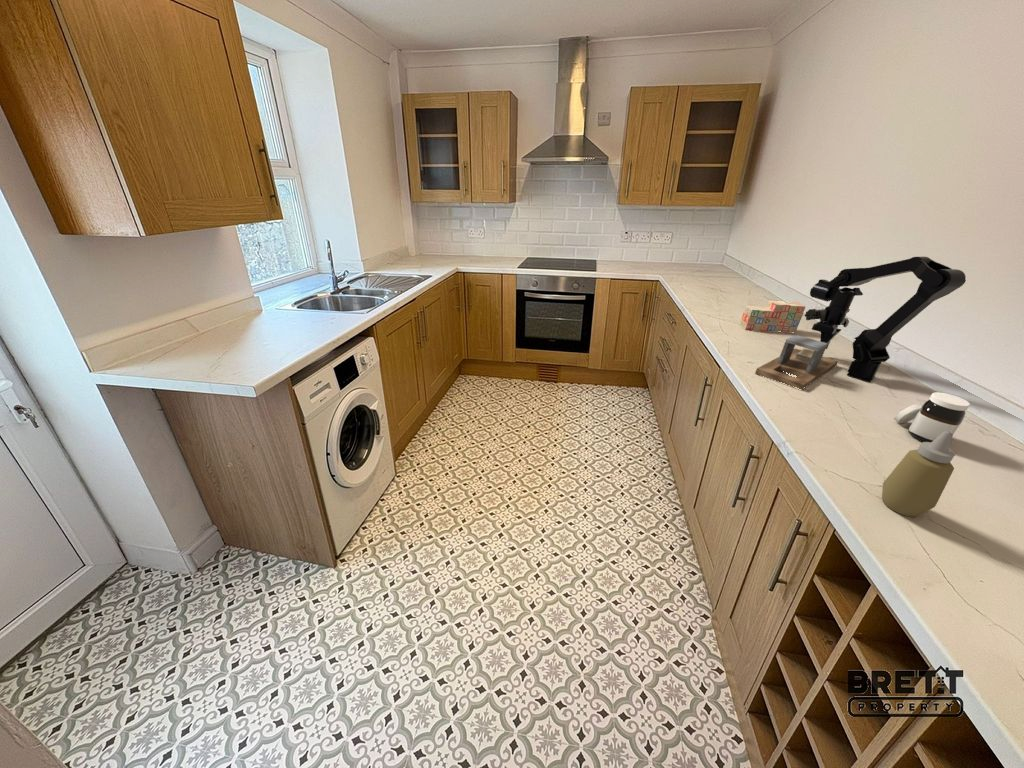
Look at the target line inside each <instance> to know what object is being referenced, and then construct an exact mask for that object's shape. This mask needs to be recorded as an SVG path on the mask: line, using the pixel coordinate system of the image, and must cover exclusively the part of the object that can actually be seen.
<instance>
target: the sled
mask: <svg viewBox="0 0 1024 768" xmlns="http://www.w3.org/2000/svg"><path fill="white" fill-rule="evenodd" d="M831 341H832V339H831V340H830V341H829V342H828V344H827V347H826V349H825V350H827V349H828V348H829V346H830V343H831ZM801 353H802V351H801V352H799V353H797V355H796V357H795V358H797V359H801V360H804V361H807V362H810V359H811V357H808V356H805V355H801ZM822 357H824V355H823V356H822ZM821 359H822V358H821Z"/></svg>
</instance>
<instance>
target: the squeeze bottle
mask: <svg viewBox="0 0 1024 768" xmlns="http://www.w3.org/2000/svg"><path fill="white" fill-rule="evenodd" d="M953 436H954V434H953V433H951V432H949V431H944V432H943V433H942V434H940V435H939V436H938V437H937V438H936V439H935V440H934V441H933V442H922V441H921V443H920V445H919V446H918V447H917V449H912V450H909V451H908V452H907V453H906V454H905V456H903V458H902V459H901V461H899V463H898V464H897V465H896V467H894V468H893V470H892V472H891V473H890V474H889V475H888V476H887V477H886V478H885V480H884V481H883V482H882V491H881V500H882V502H883V504H884V505H885V506H886V507H888V508H889V509H890V510H892V511H893V512H896V513H898V514H900V515H903V516H906V517H910V518H911V517H912V518H917V517H921V515H923V514H926V512H928V511H931V510H932V509H933V508H935V507H936V505H937V504H938V502H939V500H940V498H941V496H942V494H943V492H944V490H945V488H946V486H947V484H948V482H949V480H950V478H951V475H952V474H953V472H954V470H955V468H954V465H953V464H952V463H951V462H952V460H953V459H954V457H955V455H956V454H955V453H954V451H953V450H951V449H950V446H951V444H952V439H953Z"/></svg>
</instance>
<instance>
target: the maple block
mask: <svg viewBox="0 0 1024 768" xmlns="http://www.w3.org/2000/svg"><path fill="white" fill-rule="evenodd" d="M813 352H814V350H811V349H808V348H804V347H802V353H801V355H805V356H808V357H812V355H813Z"/></svg>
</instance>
